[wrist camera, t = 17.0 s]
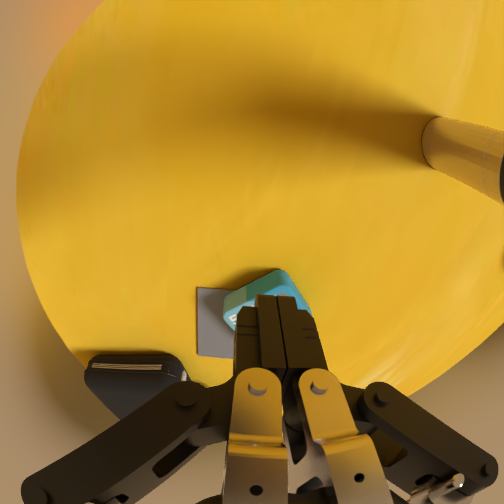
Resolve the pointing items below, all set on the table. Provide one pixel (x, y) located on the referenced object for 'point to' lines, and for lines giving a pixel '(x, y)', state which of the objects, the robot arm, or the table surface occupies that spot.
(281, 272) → the data package
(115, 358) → the briefcase
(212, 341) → the mat
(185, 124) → the table surface
